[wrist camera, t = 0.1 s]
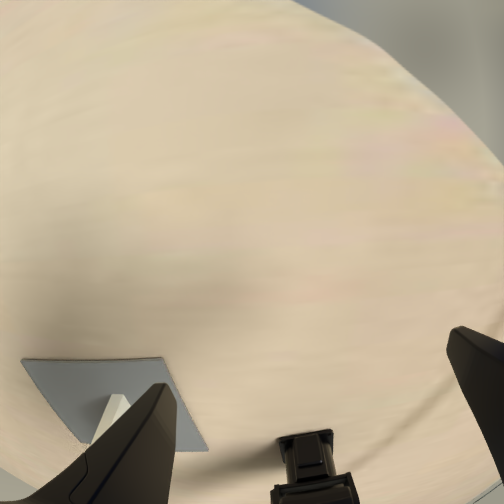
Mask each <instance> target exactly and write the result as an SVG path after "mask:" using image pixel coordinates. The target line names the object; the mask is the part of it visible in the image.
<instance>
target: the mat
mask: <svg viewBox="0 0 504 504" xmlns="http://www.w3.org/2000/svg"><path fill="white" fill-rule="evenodd" d="M20 362H21V363H22V365H23V366H24V368H25V370H26V371H27V373H28V374H29V376H30V377H31V379H32V380H33V382H34V383H35V385H36V386H37V388H38V389H39V391H40V392H41V393H42V395H43V396H44V398H45V399H46V400H47V402H48V403H49V404H50V406H51V407H52V408H53V410H54V411H55V412H56V414H57V415H58V416H59V417H60V419H61V420H62V421H63V422H64V424H65V425H66V426H67V427H68V429H69V430H70V431H71V432H72V433H73V434H74V436H75V437H76V438H77V439H78V440H79V441H80V442H81V443H87V444H91V442H92V440H93V437H94V435H95V433H96V430H97V428H98V425H99V423H100V421H101V418H102V416H103V413H104V411H105V409H106V406H107V404H108V402H109V400H110V397H111V395H112V394H124V396H125V398H126V399H127V401H128V402H129V404H130V405H131V406H132V405H133V404H134V403H135V402H136V401H137V400H138V399H139V398H140V397H141V396H142V395H143V394H144V393H145V392H146V391H147V390H148V389H149V388H150V387H151V386H152V385H153V384H154V383H163V382H165V383H167V384H168V385H169V387H170V389H171V391H172V393H173V395H174V396H175V398H176V401H177V425H176V448H175V452H207V451H208V450H209V449H208V447H207V445H206V443H205V442H204V440H203V438H202V436H201V435H200V433H199V431H198V429H197V427H196V425H195V423H194V422H193V420H192V418H191V416H190V414H189V412H188V410H187V408H186V406H185V404H184V402H183V400H182V398H181V396H180V394H179V392H178V390H177V388H176V386H175V384H174V382H173V380H172V377H171V375H170V373H169V371H168V369H167V367H166V364H165V362H164V360H163V358H151V359H132V360H103V361H55V360H27V359H22V360H21V361H20Z"/></svg>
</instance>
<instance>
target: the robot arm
mask: <svg viewBox="0 0 504 504" xmlns="http://www.w3.org/2000/svg"><path fill="white" fill-rule="evenodd" d="M446 351H447V356H448V358H449V361H450V363H451V365H452V368H453V370H454V373H455V375H456V378H457V380H458V383H459V385H460V388H461V390H462V392H463V394H464V396H465V398H466V400H467V402H468V404H469V406H470V408H471V410H472V412H473V414H474V416H475V419H476V421H477V423H478V425H479V427H480V429H481V431H482V434H483V436H484V438H485V440H486V443H487V445H488V447H489V450H490V452H491V454H492V457H493V459H494V462H495V464H496V467H497V469H498V472H499V474H500V477H501V480H502V482H503V484H504V343H503V342H500V341H498V340H495V339H493V338H491V337H488V336H486V335H484V334H481V333H479V332H476V331H474V330H472V329H469V328H467V327H464V326H459V327H456V328H453V329H452V330H451V331H450V335H449V340H448V344H447V348H446ZM176 425H177V401H176V398H175V396H174V395H173V393H172V391H171V389H170V387H169V385H168V384H167V383H165V382H163V383H154V384H153V385H152V386H151V387H150V388H149V389H148V390H147V391H146V392H145V393H144V394H143V395H142V396H141V397H140V398H139V399H138V400H137V401H136V402H135V403H134V404H133V405H132V406H131V407H130V408H129V409H128V410H127V411H126V412H125V413H124V414H122V415H121V416H120V417H119V418H118V419H117V420H116V421H115V422H114V423H113V424H112V425H111V426H110V427H109V428H108V429H107V430H106V431H105V432H104V433H103V434H102V435H101V436H100V437H99V438H98V439H97V440H96V441H95V442H94V443H93V444H92V445H91V446H90V447H89V448H88V449H87V450H86V451H85V452H84V453H82V454H81V455H80V456H79V457H78V458H77V459H76V460H75V461H74V462H73V463H72V464H71V465H69V466H68V467H67V468H66V469H65V470H64V471H62V472H61V473H60V474H59V475H57V476H56V477H55V478H54V479H52V480H51V481H50V482H48V483H47V484H46V485H44V486H43V487H42V488H40V489H39V490H37V491H36V492H35V493H33V494H32V495H30V496H29V497H27V498H25V499H21V500H17V501H0V504H168V497H169V490H170V482H171V475H172V469H173V462H174V455H175V448H176ZM333 434H334V433H333V430H325V431H320V432H314V433H309V434H303V435H297V436H290V437H283V438H280V439H279V446H280V450H281V454H282V458H283V462H284V463H285V464H286V474H287V484H283V485H279V484H277V485H274V489H273V490H271V491H270V495H271V504H360V502H359V497H358V494H357V491H356V488H355V485H354V482H353V479H352V476H351V473H350V472H347V473H345V474H341V475H336V470H335V465H334V461H333V456H332V455H333Z"/></svg>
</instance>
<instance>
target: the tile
mask: <svg viewBox="0 0 504 504" xmlns="http://www.w3.org/2000/svg"><path fill="white" fill-rule="evenodd" d="M130 407H131V405H130V404H129V402H128V401H127V399H126V398H125V396H124V394H112V395H111V397H110V400H109V402H108V404H107V406H106V409H105V411H104V413H103V416H102V418H101V421H100V423H99V425H98V428H97V430H96V433H95V435H94V437H93V440H92V442H91V445H92V444H93V443H94V442H95V441H96V440H97V439H98V438H99V437H100V436H101V435H102V434H103V433H104V432H105V431H106V430H107V429H108V428H109V427H110V426H111V425H112V424H113V423H114V422H115V421H116V420H117V419H118V418H119V417H120V416H121V415H122V414H124V413H125V412H126V411H127V410H128V409H129V408H130ZM91 445H90V446H91Z"/></svg>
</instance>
